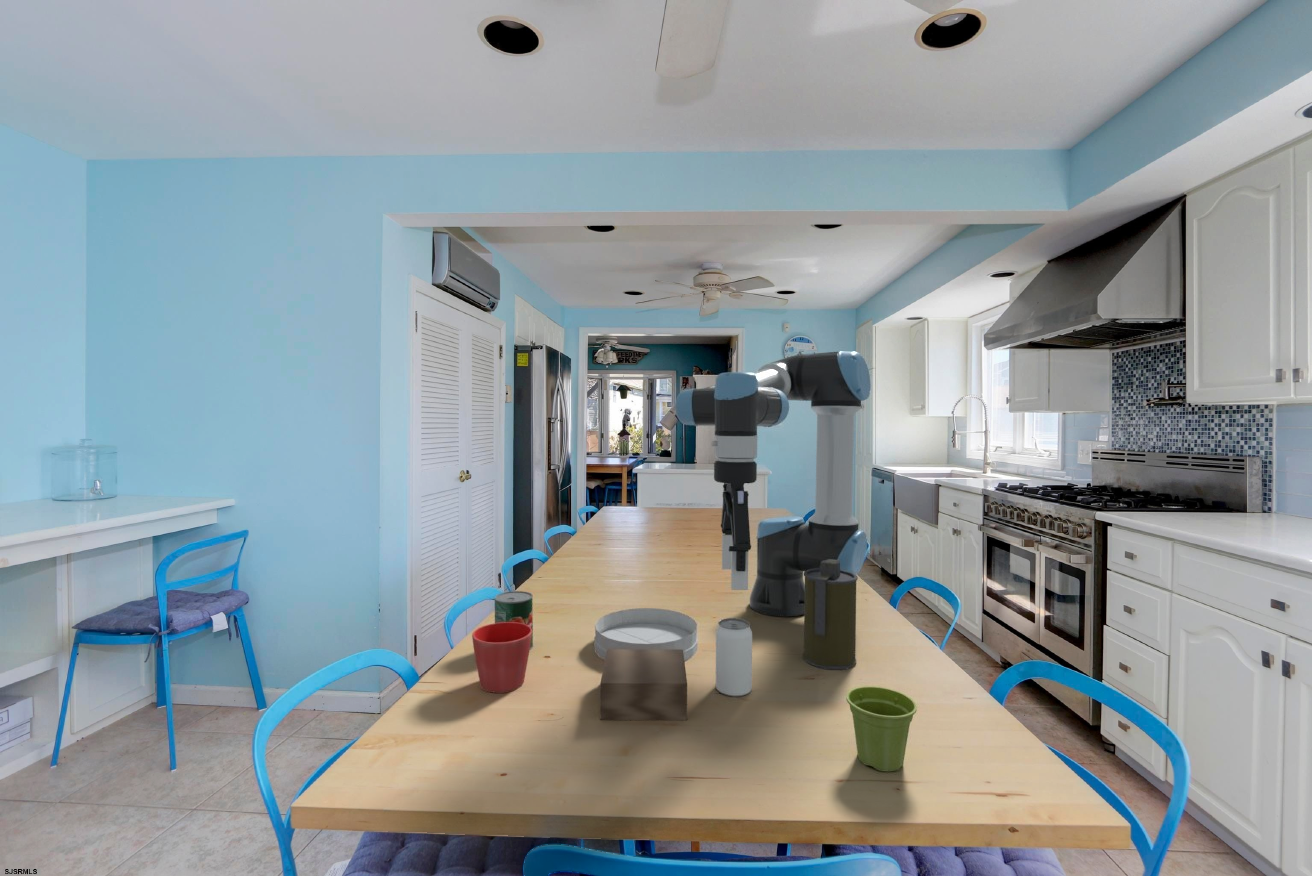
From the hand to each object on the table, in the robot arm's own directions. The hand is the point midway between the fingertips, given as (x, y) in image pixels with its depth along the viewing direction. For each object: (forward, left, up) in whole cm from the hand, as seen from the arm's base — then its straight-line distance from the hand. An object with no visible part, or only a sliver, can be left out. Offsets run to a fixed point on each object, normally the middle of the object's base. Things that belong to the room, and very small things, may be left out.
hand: (733, 578), depth 106 cm
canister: (-21, -13, -20) cm, 32 cm away
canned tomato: (+44, -19, -20) cm, 52 cm away
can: (0, 0, -20) cm, 20 cm away
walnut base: (+16, +4, -20) cm, 26 cm away
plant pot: (-18, +22, -20) cm, 35 cm away
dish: (+16, -20, -21) cm, 33 cm away
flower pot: (+42, -2, -20) cm, 47 cm away
